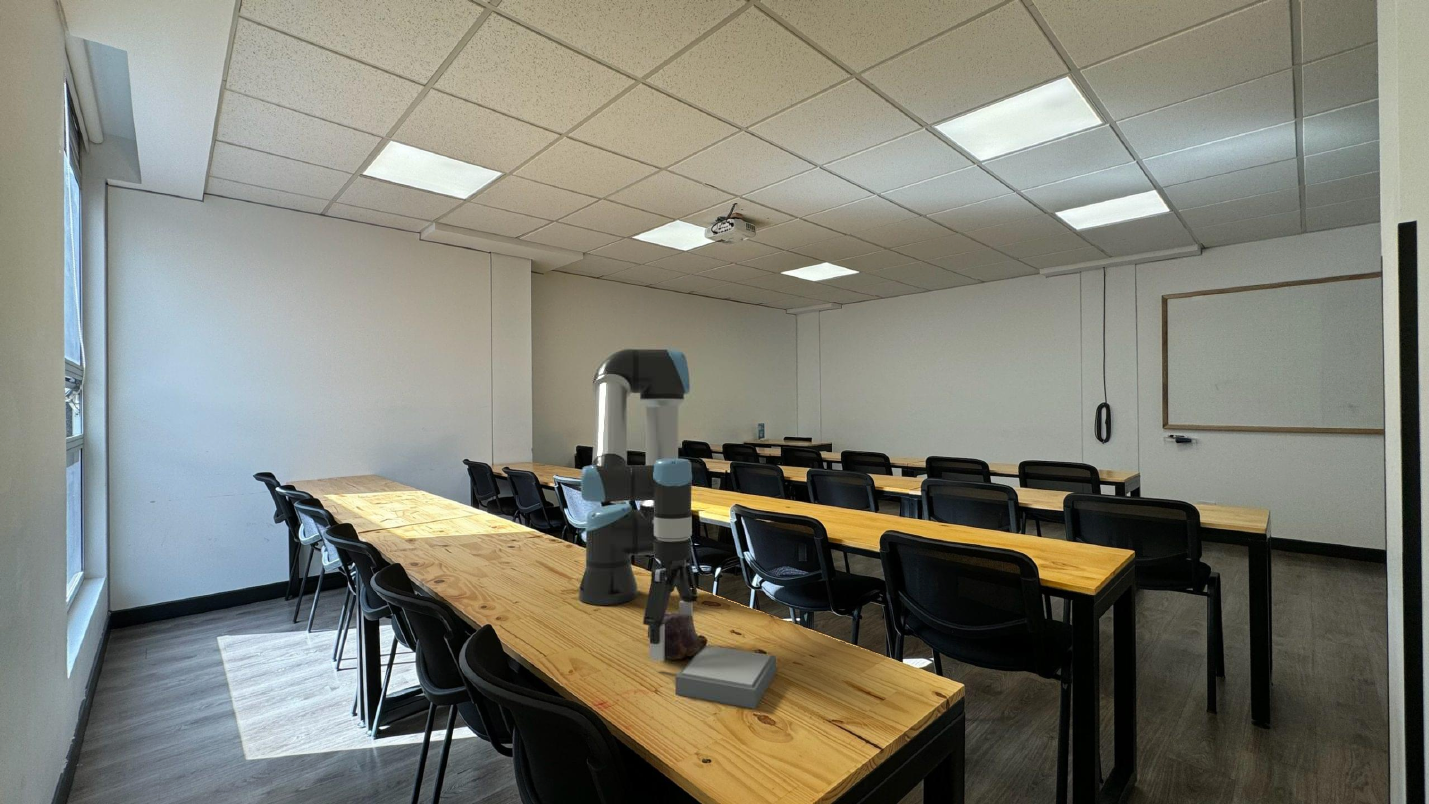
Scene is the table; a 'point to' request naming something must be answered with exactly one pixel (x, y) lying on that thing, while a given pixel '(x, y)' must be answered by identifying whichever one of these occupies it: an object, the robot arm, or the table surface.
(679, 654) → the rock
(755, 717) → the table surface
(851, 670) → the table surface
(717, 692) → the grey flat square block
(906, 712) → the table surface
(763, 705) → the table surface
